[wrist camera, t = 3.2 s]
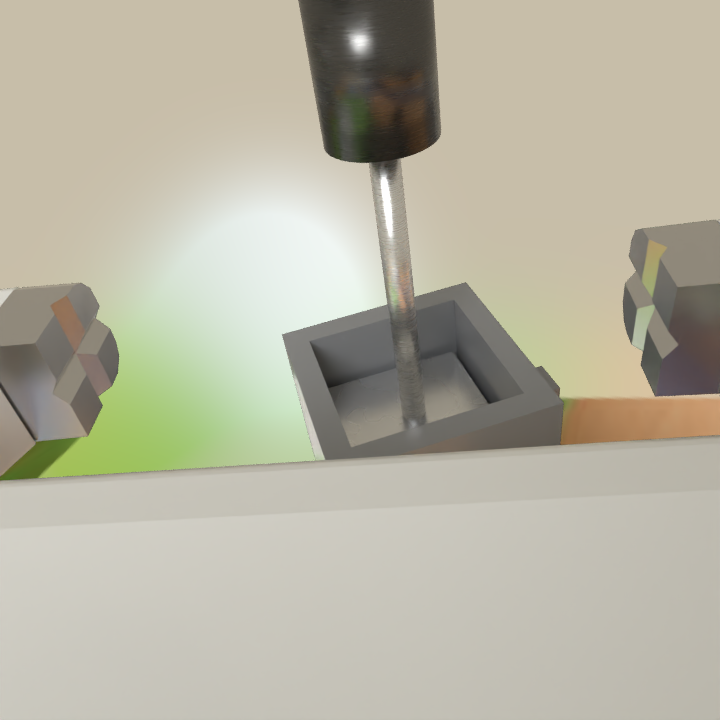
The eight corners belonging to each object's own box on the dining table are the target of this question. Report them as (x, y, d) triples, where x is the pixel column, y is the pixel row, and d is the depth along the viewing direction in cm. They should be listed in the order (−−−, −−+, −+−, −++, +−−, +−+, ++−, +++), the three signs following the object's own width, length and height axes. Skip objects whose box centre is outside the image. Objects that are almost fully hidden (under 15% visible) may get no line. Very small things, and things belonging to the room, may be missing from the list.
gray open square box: (381, 695, 32) (326, 482, 22) (334, 547, 39) (276, 333, 29) (582, 621, 34) (617, 390, 24) (503, 491, 41) (504, 268, 30)
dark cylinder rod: (369, 499, 26) (273, 21, 15) (330, 401, 30) (236, -19, 19) (511, 453, 26) (520, -32, 16) (453, 364, 31) (428, -59, 20)
